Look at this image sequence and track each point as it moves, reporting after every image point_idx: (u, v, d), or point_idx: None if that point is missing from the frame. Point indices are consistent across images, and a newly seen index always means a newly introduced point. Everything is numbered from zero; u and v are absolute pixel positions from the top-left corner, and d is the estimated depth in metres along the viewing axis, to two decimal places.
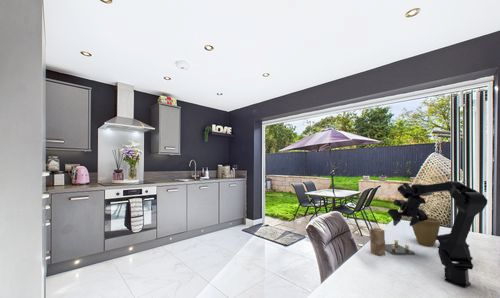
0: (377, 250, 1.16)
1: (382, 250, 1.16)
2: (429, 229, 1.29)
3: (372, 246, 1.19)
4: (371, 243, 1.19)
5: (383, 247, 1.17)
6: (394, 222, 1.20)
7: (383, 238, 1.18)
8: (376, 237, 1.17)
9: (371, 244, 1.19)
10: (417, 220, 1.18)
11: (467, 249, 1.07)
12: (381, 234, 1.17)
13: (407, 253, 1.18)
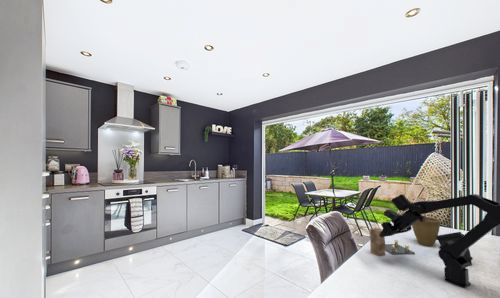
0: (377, 250, 1.16)
1: (382, 250, 1.16)
2: (429, 229, 1.29)
3: (372, 246, 1.19)
4: (371, 243, 1.19)
5: (383, 247, 1.17)
6: (383, 234, 1.11)
7: (383, 238, 1.18)
8: (376, 237, 1.17)
9: (371, 244, 1.19)
10: (401, 231, 1.13)
11: (467, 249, 1.07)
12: None
13: (407, 253, 1.18)
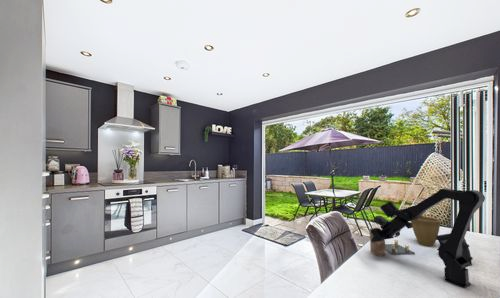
0: (377, 250, 1.16)
1: (382, 250, 1.16)
2: (429, 229, 1.29)
3: (372, 246, 1.19)
4: (371, 243, 1.19)
5: (383, 247, 1.17)
6: (374, 239, 1.17)
7: None
8: None
9: (371, 244, 1.19)
10: (388, 237, 1.17)
11: (467, 249, 1.07)
12: None
13: (407, 253, 1.18)
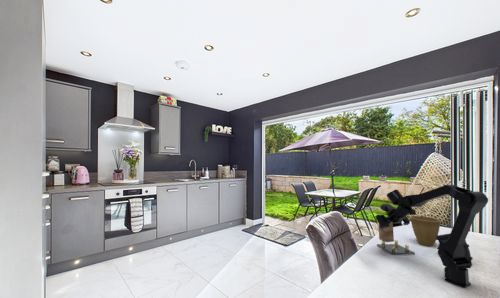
0: (384, 236, 1.21)
1: (389, 237, 1.21)
2: (429, 229, 1.29)
3: (380, 232, 1.24)
4: (379, 230, 1.25)
5: (391, 234, 1.21)
6: (381, 226, 1.22)
7: (391, 225, 1.22)
8: None
9: (379, 231, 1.25)
10: (396, 224, 1.21)
11: (467, 249, 1.07)
12: None
13: (407, 253, 1.18)
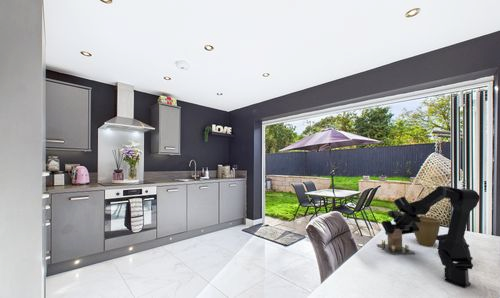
0: (392, 243, 1.23)
1: (397, 245, 1.22)
2: (429, 229, 1.29)
3: (389, 240, 1.26)
4: (388, 237, 1.27)
5: (399, 242, 1.22)
6: (386, 232, 1.24)
7: (400, 234, 1.23)
8: None
9: (388, 238, 1.27)
10: (407, 231, 1.22)
11: (467, 249, 1.07)
12: (396, 229, 1.23)
13: (407, 253, 1.18)
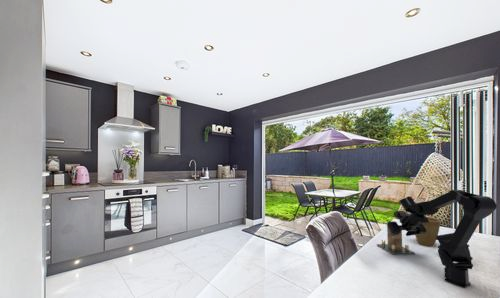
0: (392, 244, 1.23)
1: (397, 245, 1.22)
2: (429, 229, 1.29)
3: (389, 240, 1.26)
4: (388, 237, 1.27)
5: (399, 242, 1.22)
6: (392, 233, 1.20)
7: (400, 234, 1.23)
8: None
9: (388, 238, 1.27)
10: (415, 232, 1.17)
11: (467, 249, 1.07)
12: None
13: (407, 253, 1.18)
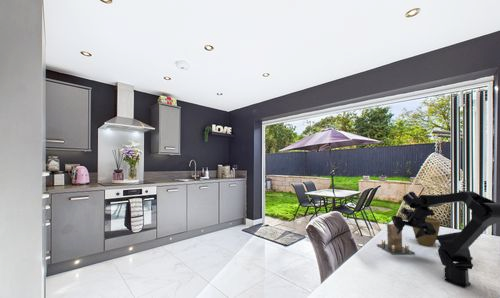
0: (392, 244, 1.23)
1: (397, 245, 1.22)
2: None
3: (389, 240, 1.26)
4: (388, 237, 1.27)
5: (399, 242, 1.22)
6: (397, 230, 1.16)
7: (400, 234, 1.23)
8: (391, 232, 1.24)
9: (388, 238, 1.27)
10: (423, 233, 1.11)
11: (467, 249, 1.07)
12: None
13: (407, 253, 1.18)
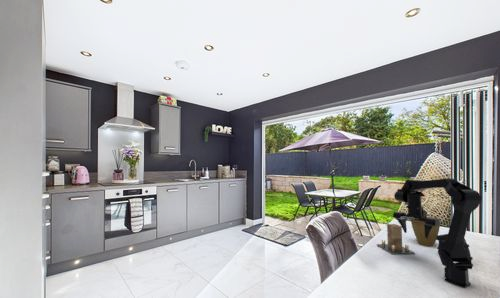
0: (392, 244, 1.23)
1: (397, 245, 1.22)
2: None
3: (389, 240, 1.26)
4: (388, 237, 1.27)
5: (399, 242, 1.22)
6: None
7: (400, 234, 1.23)
8: (391, 232, 1.24)
9: (388, 238, 1.27)
10: None
11: (467, 249, 1.07)
12: (396, 229, 1.23)
13: (407, 253, 1.18)
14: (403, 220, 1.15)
